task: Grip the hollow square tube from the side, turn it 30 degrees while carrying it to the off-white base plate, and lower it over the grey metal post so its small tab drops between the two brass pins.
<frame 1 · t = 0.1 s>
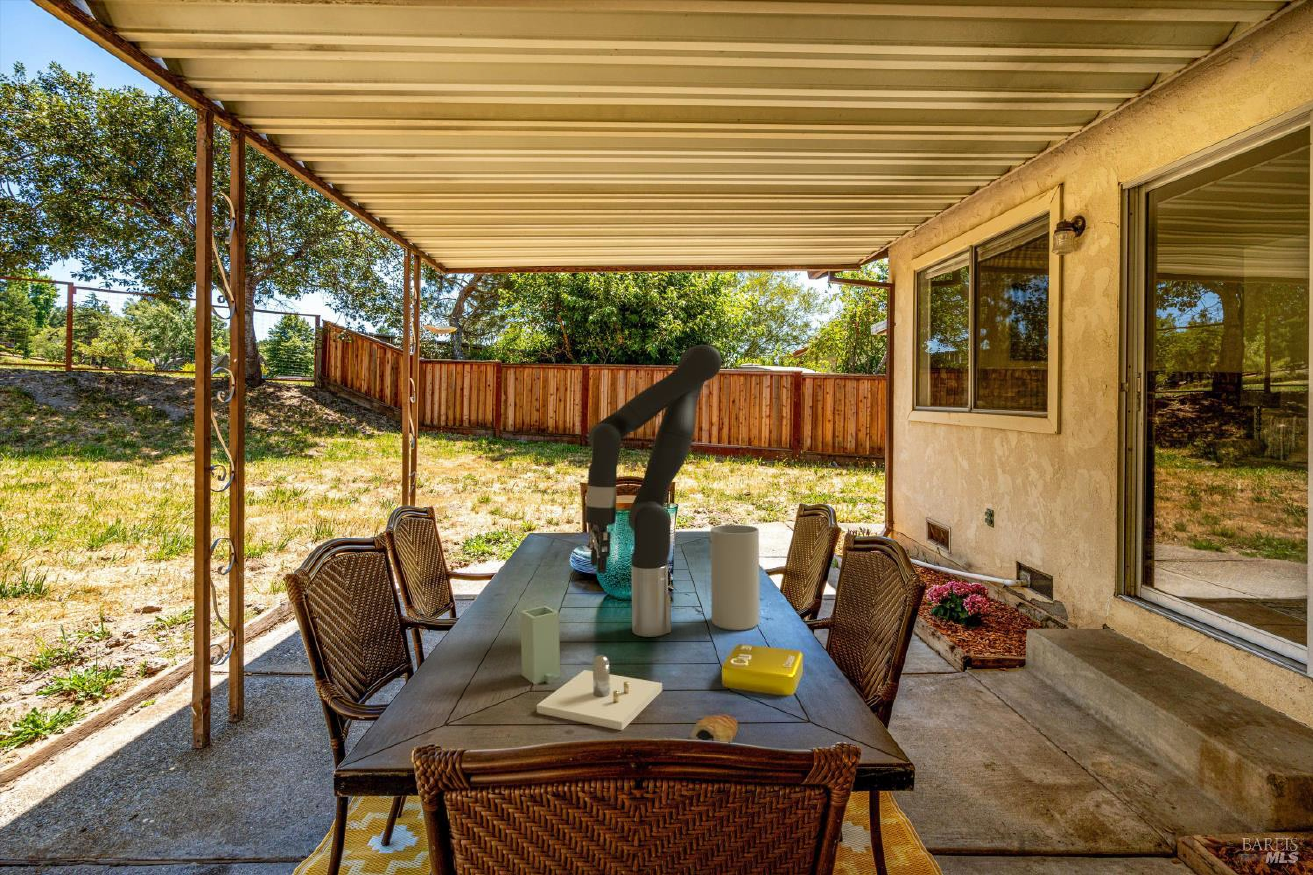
hand: (598, 569, 166), 17 cm above the table, tool pointing down, fingers open, 8 cm apart
pastry: (714, 739, 116), on the table
element tile: (763, 679, 142), on the table
cylinder vase: (735, 623, 176), on the table
base plate: (601, 701, 131), on the table
hollow square tube: (540, 676, 143), on the table
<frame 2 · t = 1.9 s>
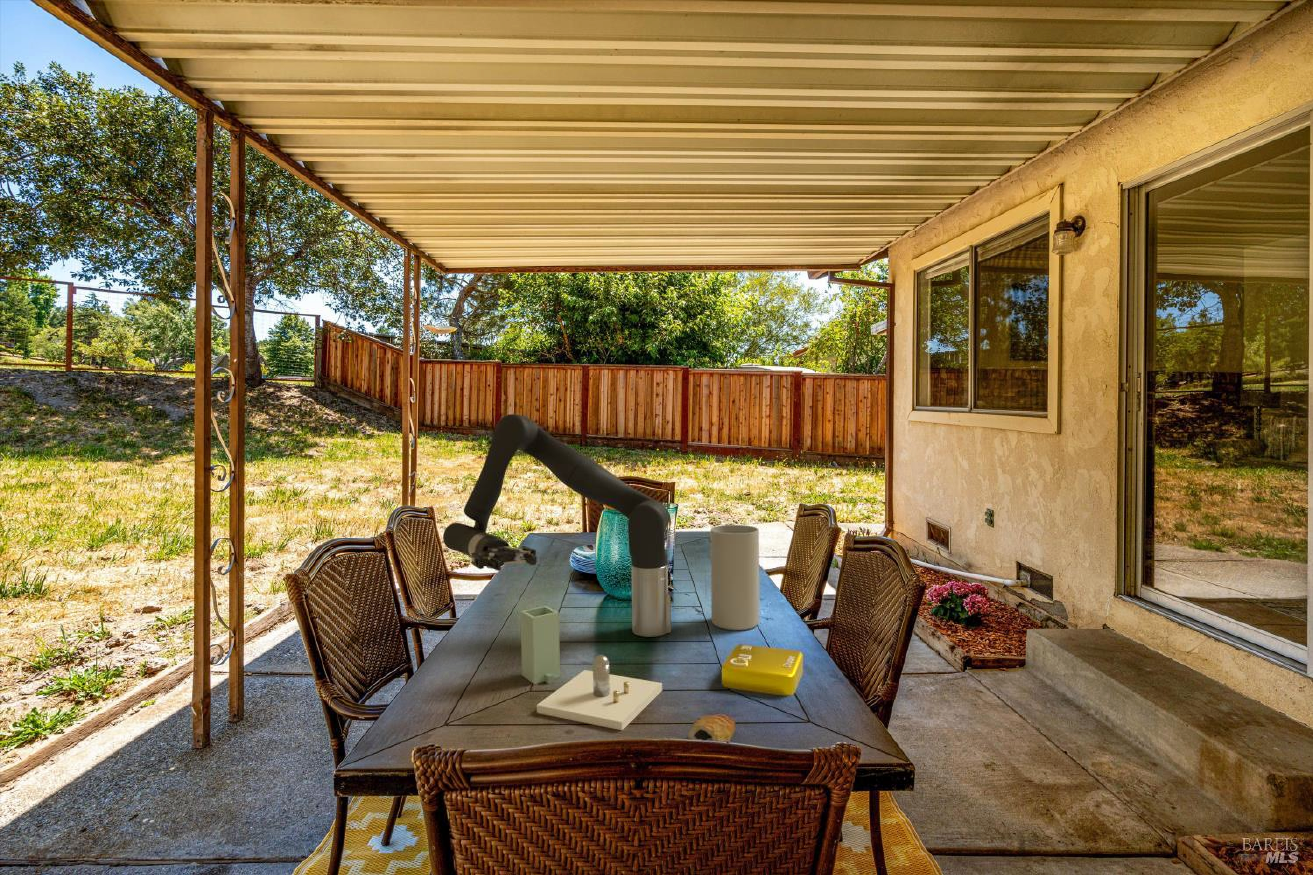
hand: (517, 563, 151), 22 cm above the table, tool horizontal, fingers open, 8 cm apart
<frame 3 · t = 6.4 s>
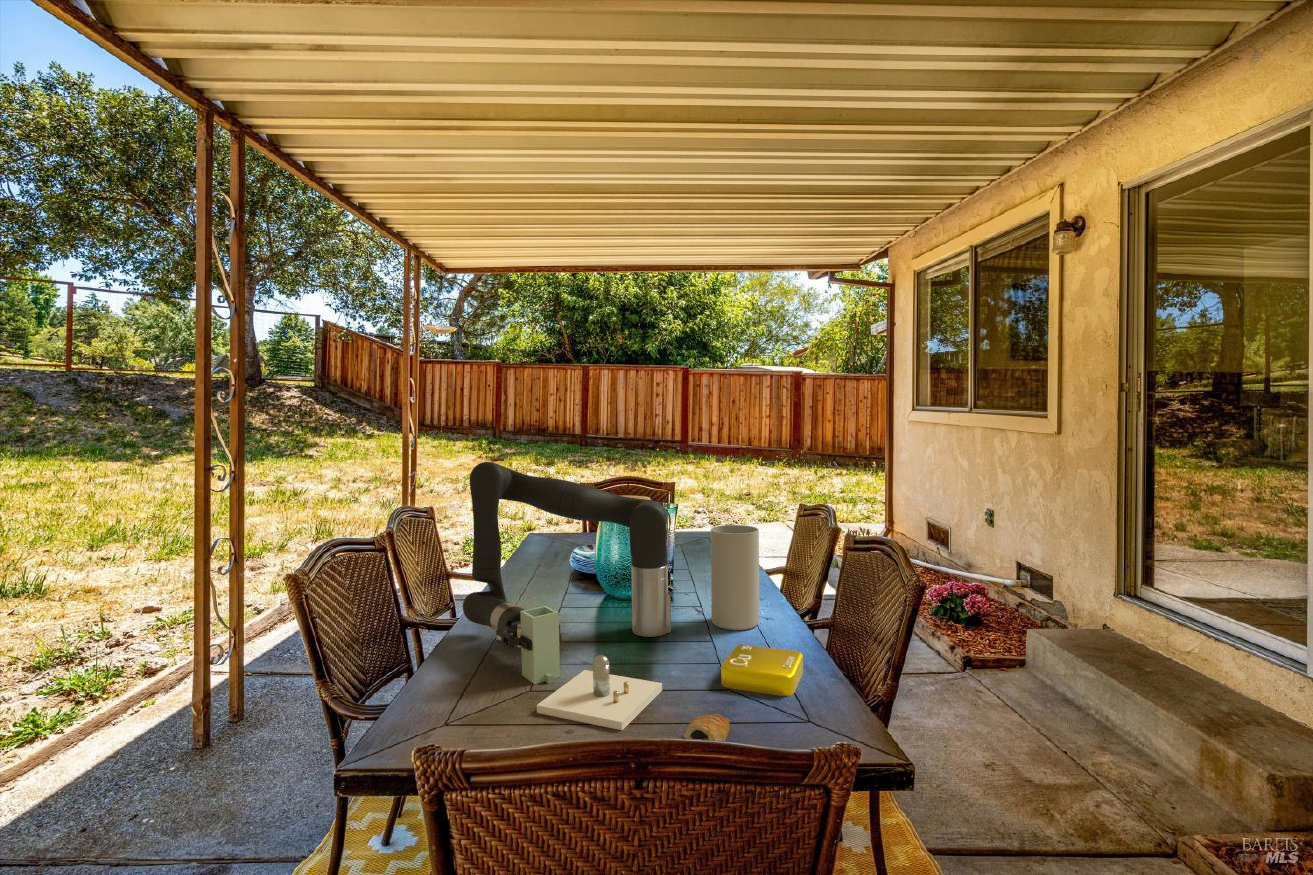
hand: (545, 642, 141), 8 cm above the table, tool horizontal, fingers closed on hollow square tube, 6 cm apart
hollow square tube: (540, 675, 143), on the table, touching gripper
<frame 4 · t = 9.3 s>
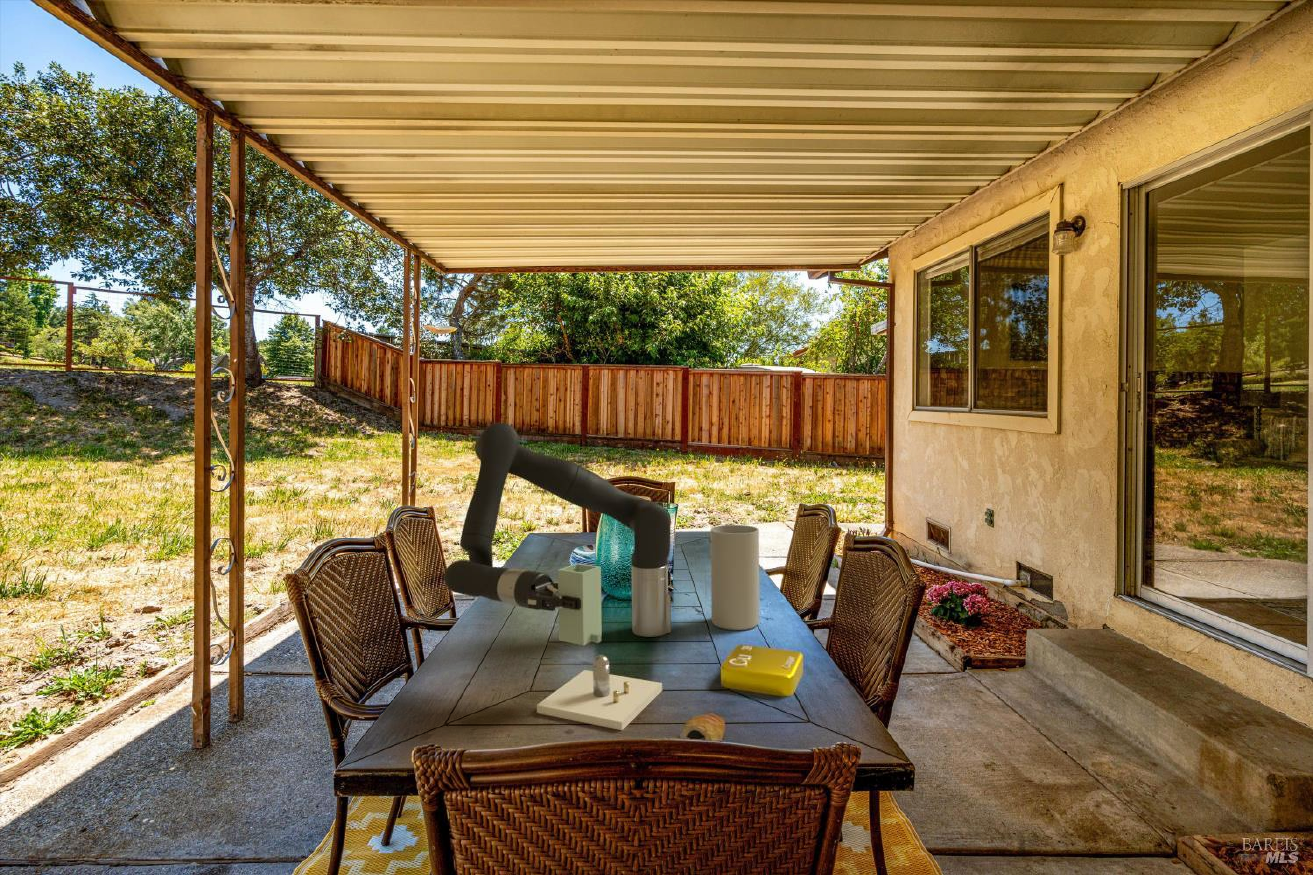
hand: (590, 599, 131), 20 cm above the table, tool horizontal, fingers closed on hollow square tube, 6 cm apart
hollow square tube: (580, 637, 132), point 12 cm above the table, touching gripper
when the fingers open (10 cm above the table, at t = 12.5 s): hollow square tube stays where it is, resting on base plate.
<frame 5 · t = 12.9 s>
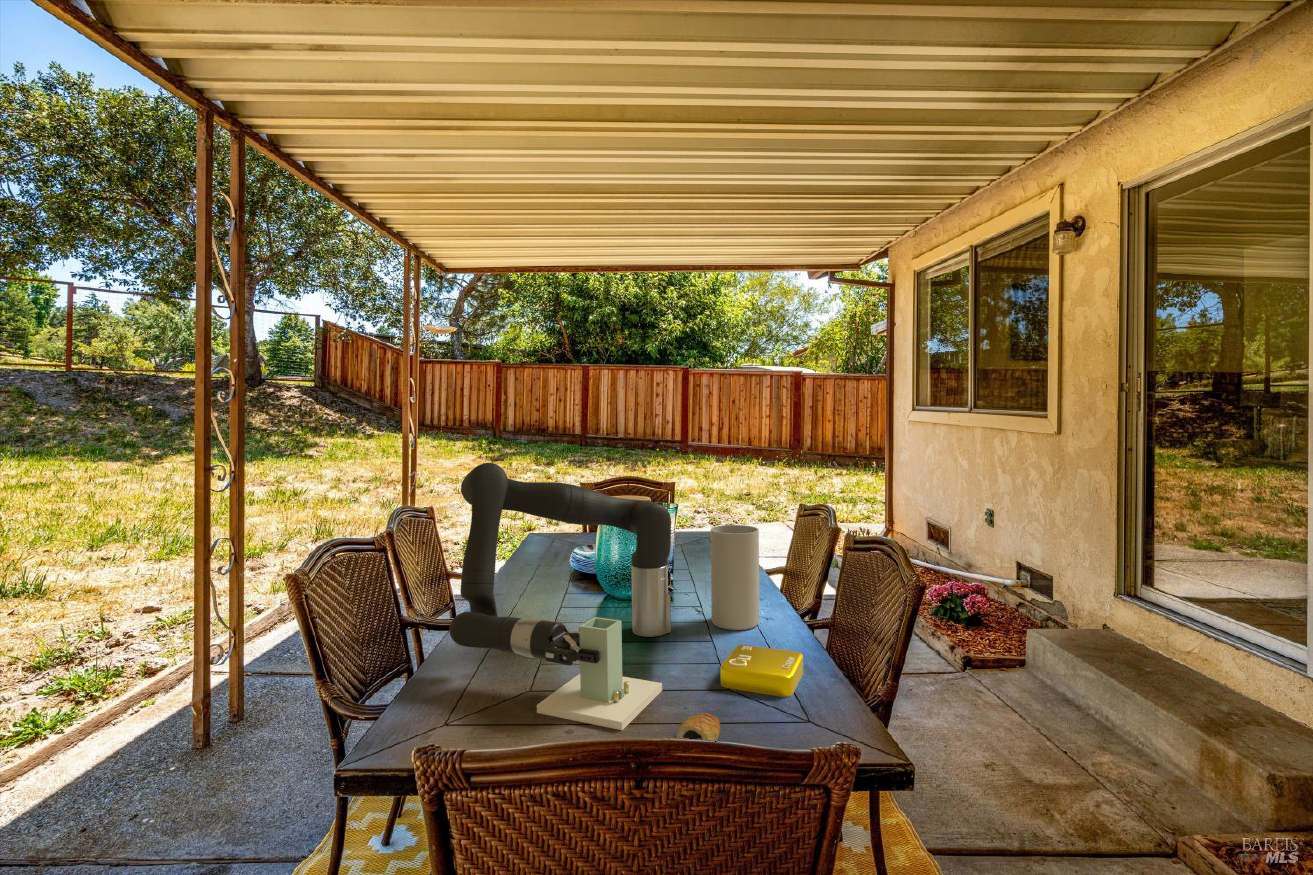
hand: (609, 649, 130), 10 cm above the table, tool horizontal, fingers open, 8 cm apart
hollow square tube: (601, 693, 131), point 1 cm above the table, touching base plate
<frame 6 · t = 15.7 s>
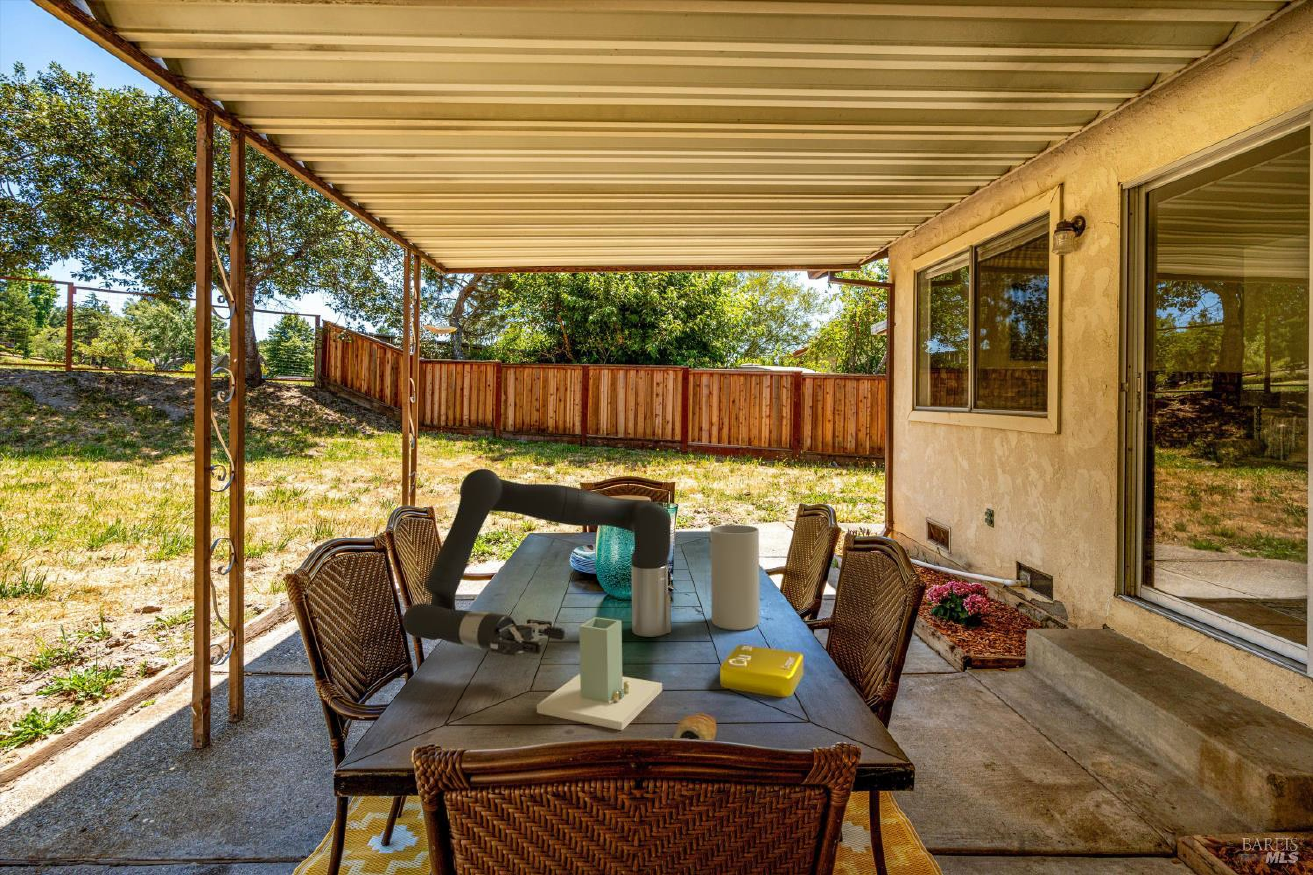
hand: (552, 640, 135), 11 cm above the table, tool horizontal, fingers open, 8 cm apart
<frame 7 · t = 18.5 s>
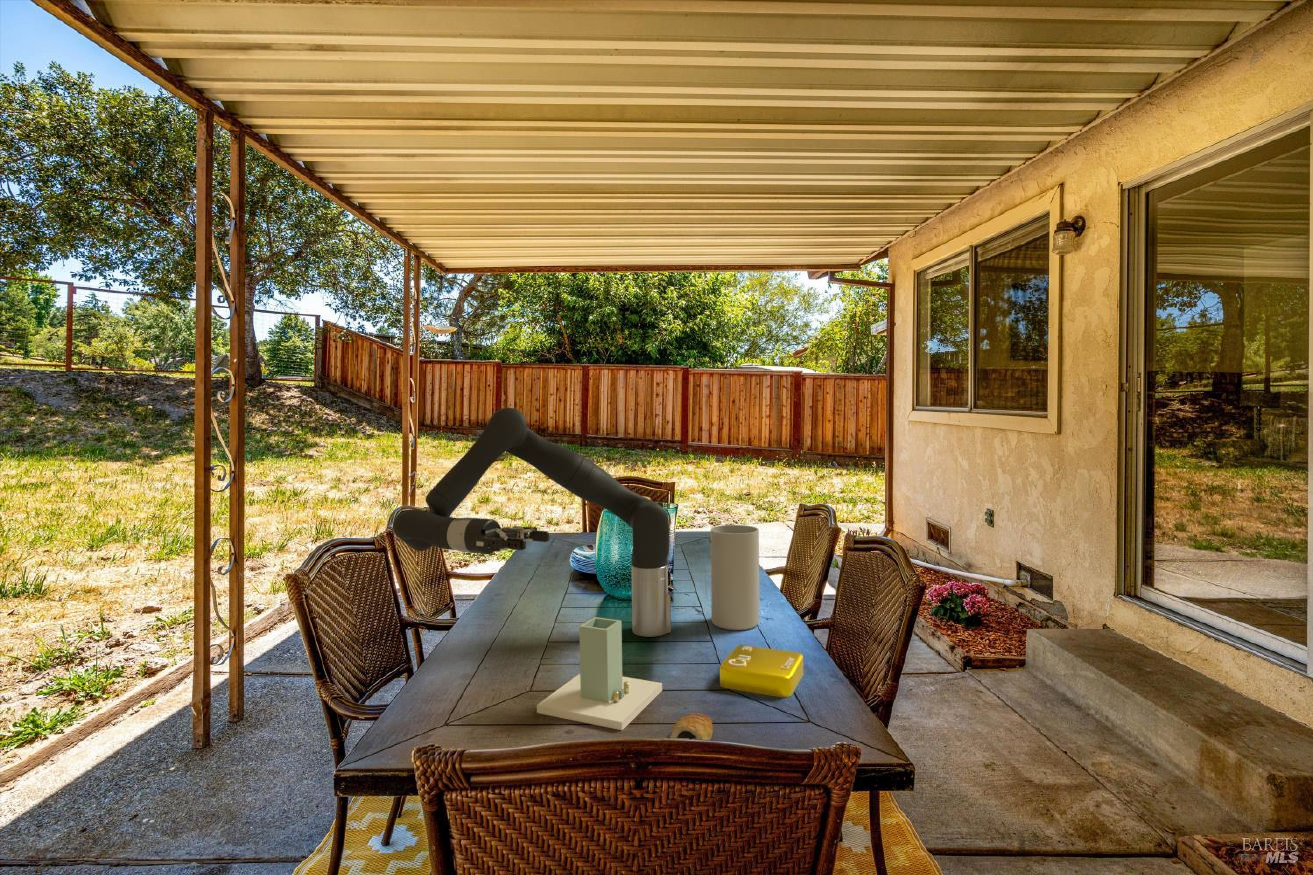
hand: (536, 540, 139), 30 cm above the table, tool horizontal, fingers open, 8 cm apart
at the end: hollow square tube 0.2 cm from the base plate (horizontally); hollow square tube point 1.5 cm above the table; hollow square tube tilted 0° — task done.
